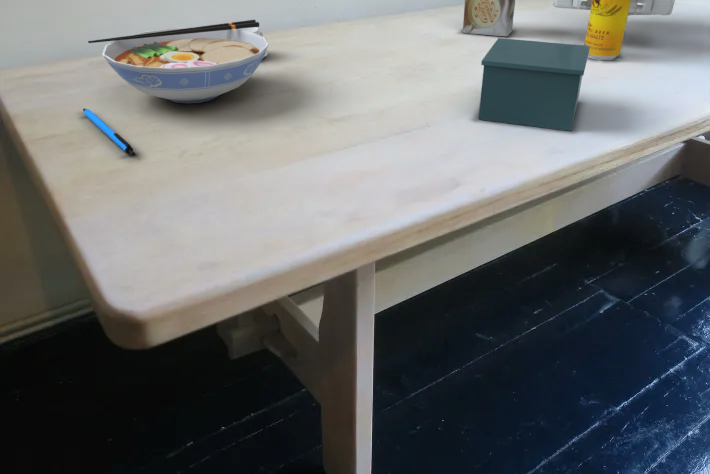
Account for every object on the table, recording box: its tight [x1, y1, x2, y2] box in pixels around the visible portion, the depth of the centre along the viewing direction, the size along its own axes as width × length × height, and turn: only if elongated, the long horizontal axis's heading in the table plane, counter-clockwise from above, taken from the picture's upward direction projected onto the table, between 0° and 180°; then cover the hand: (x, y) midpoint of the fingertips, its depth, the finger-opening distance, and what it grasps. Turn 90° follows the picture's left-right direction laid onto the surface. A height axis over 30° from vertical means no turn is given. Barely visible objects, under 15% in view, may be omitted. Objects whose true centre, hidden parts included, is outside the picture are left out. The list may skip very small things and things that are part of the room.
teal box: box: [478, 37, 590, 132], centre depth 90 cm, size 13×13×8 cm
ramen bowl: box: [87, 19, 269, 105], centre depth 95 cm, size 25×23×8 cm
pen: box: [82, 108, 136, 156], centre depth 84 cm, size 1×19×1 cm, turn 36°
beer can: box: [583, 0, 631, 61], centre depth 113 cm, size 6×6×15 cm
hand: (611, 6), depth 112 cm, fingers open, 8 cm apart
